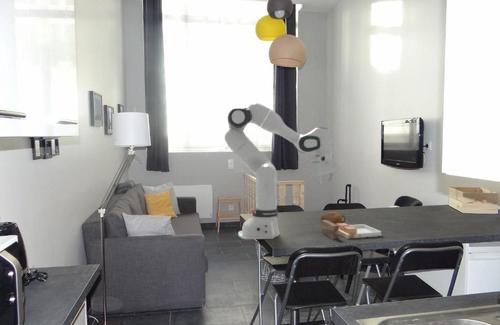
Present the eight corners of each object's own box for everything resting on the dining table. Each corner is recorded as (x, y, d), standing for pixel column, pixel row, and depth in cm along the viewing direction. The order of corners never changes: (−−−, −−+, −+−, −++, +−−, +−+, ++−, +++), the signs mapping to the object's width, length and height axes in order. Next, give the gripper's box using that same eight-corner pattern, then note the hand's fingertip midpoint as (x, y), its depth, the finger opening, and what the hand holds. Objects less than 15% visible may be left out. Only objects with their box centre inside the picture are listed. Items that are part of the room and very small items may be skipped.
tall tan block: (333, 239, 184) (333, 226, 183) (321, 232, 197) (321, 220, 197) (338, 239, 184) (338, 225, 184) (326, 232, 198) (326, 219, 197)
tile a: (340, 230, 194) (340, 225, 194) (336, 227, 199) (336, 223, 198) (349, 229, 195) (349, 225, 195) (344, 227, 200) (344, 222, 200)
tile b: (348, 233, 186) (348, 229, 186) (343, 231, 191) (343, 226, 191) (356, 233, 187) (357, 228, 187) (351, 230, 192) (352, 226, 192)
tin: (321, 227, 208) (321, 213, 207) (319, 226, 211) (319, 212, 210) (345, 226, 211) (345, 212, 210) (343, 225, 214) (343, 211, 213)
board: (347, 238, 184) (347, 234, 184) (332, 231, 200) (332, 227, 200) (360, 237, 186) (361, 233, 186) (345, 230, 202) (345, 226, 202)
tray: (362, 237, 185) (362, 233, 185) (344, 229, 203) (344, 225, 203) (382, 236, 188) (382, 231, 188) (363, 228, 206) (363, 224, 206)
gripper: (329, 155, 202) (331, 179, 203) (308, 158, 188) (310, 184, 189) (339, 155, 198) (341, 179, 198) (318, 158, 183) (320, 185, 184)
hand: (325, 182), depth 193 cm, fingers open, 8 cm apart
